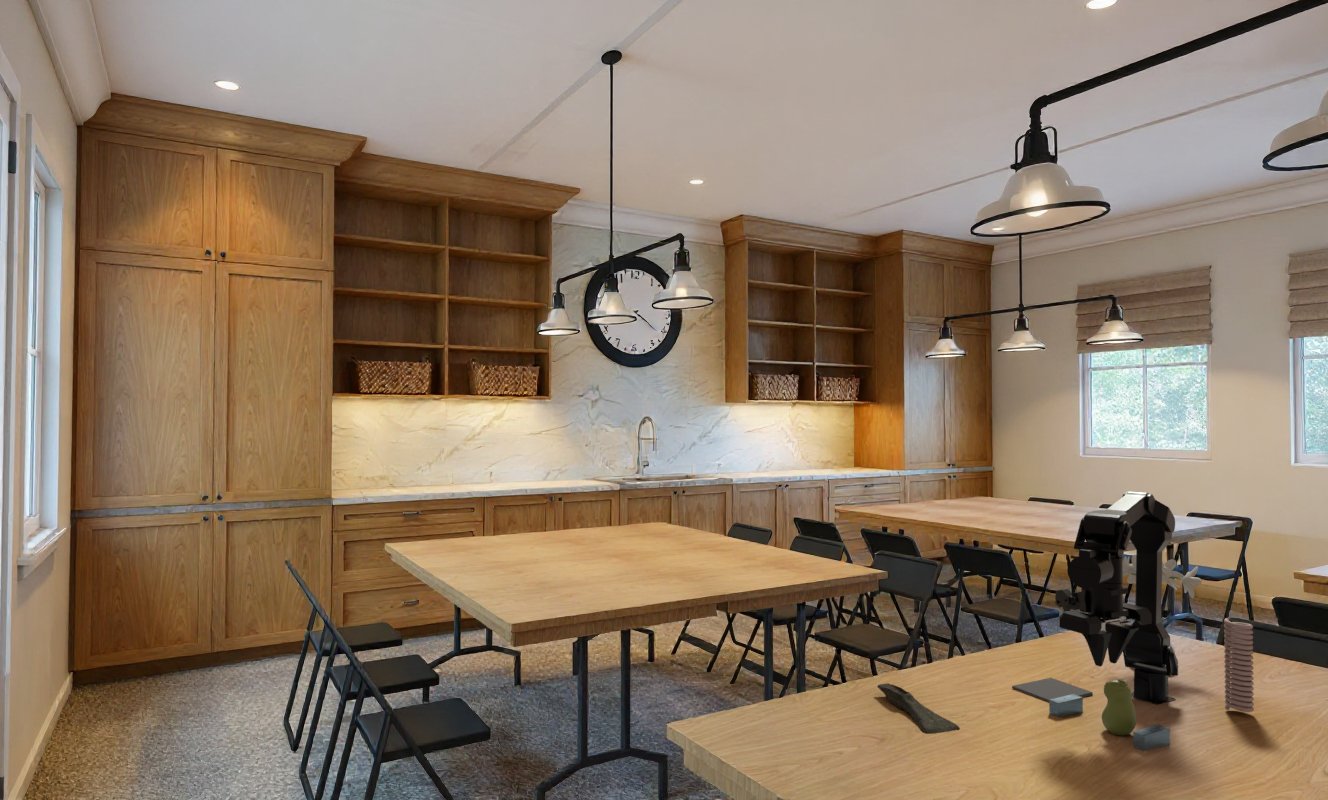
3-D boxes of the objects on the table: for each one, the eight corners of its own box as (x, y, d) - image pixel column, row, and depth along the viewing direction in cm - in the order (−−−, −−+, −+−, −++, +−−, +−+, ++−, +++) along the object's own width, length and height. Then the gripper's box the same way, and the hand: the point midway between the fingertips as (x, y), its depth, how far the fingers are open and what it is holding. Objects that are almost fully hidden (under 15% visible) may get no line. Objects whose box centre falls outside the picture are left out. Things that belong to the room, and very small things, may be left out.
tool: (962, 737, 145) (963, 720, 145) (927, 742, 143) (927, 726, 142) (895, 689, 165) (896, 675, 165) (863, 693, 162) (864, 679, 162)
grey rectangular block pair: (1073, 709, 157) (1073, 693, 157) (1169, 745, 140) (1169, 728, 140) (1049, 715, 154) (1049, 699, 154) (1144, 753, 137) (1144, 735, 137)
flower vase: (1211, 671, 179) (1210, 561, 180) (1130, 671, 180) (1129, 561, 180) (1175, 653, 192) (1174, 551, 193) (1099, 653, 193) (1098, 551, 193)
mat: (1050, 680, 174) (1050, 677, 174) (1092, 695, 165) (1092, 692, 165) (1012, 688, 169) (1012, 685, 169) (1053, 704, 160) (1053, 701, 160)
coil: (1250, 709, 157) (1249, 618, 157) (1256, 717, 153) (1255, 624, 153) (1222, 705, 159) (1221, 616, 159) (1227, 713, 154) (1226, 621, 155)
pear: (1123, 742, 141) (1122, 686, 141) (1095, 731, 146) (1095, 677, 146) (1142, 736, 144) (1141, 681, 144) (1113, 726, 148) (1113, 673, 149)
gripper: (1098, 568, 159) (1098, 646, 158) (1033, 576, 151) (1034, 658, 150) (1153, 579, 149) (1153, 662, 148) (1086, 588, 140) (1087, 676, 140)
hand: (1105, 664), depth 147 cm, fingers open, 4 cm apart
